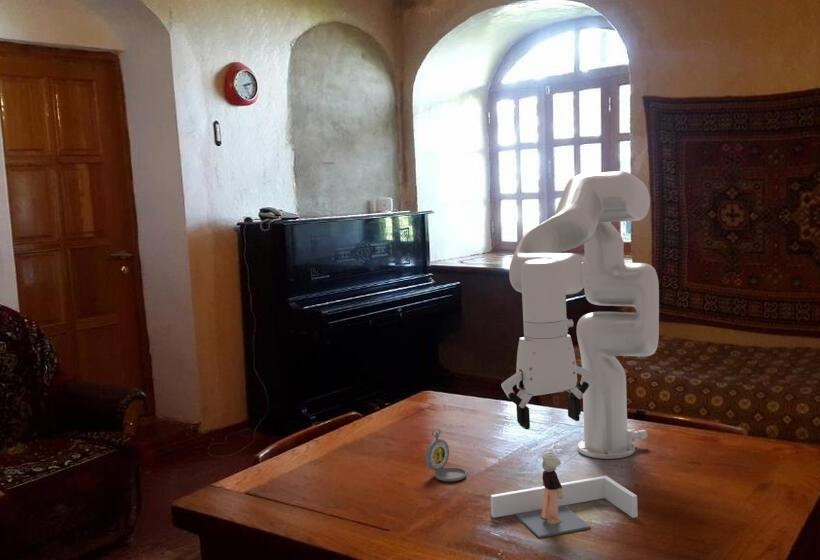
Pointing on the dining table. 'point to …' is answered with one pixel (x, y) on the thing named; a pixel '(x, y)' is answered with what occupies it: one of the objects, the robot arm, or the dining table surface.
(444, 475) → the pocket watch
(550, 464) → the grandmother figurine
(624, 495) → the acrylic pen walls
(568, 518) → the slate mat
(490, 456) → the dining table surface
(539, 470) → the dining table surface
